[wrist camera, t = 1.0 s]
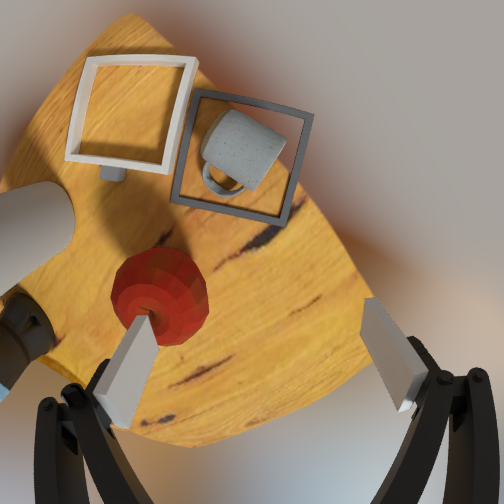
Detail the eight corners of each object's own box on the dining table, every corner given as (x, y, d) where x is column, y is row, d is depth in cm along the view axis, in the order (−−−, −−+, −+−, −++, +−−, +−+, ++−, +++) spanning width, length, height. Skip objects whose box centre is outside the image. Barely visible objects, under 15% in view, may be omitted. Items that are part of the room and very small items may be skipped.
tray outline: (171, 202, 36) (170, 202, 36) (195, 88, 31) (194, 88, 30) (284, 226, 37) (285, 227, 37) (313, 114, 32) (314, 114, 32)
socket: (72, 172, 34) (63, 174, 31) (95, 61, 28) (87, 57, 25) (170, 187, 35) (164, 190, 33) (199, 62, 29) (195, 56, 27)
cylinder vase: (77, 258, 39) (-22, 345, 15) (29, 244, 37) (-64, 308, 14) (79, 183, 34) (-52, 233, 11) (28, 177, 33) (-83, 216, 10)
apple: (232, 274, 40) (225, 332, 27) (180, 318, 43) (158, 380, 29) (171, 213, 37) (133, 247, 23) (123, 266, 39) (79, 314, 26)
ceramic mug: (230, 109, 32) (224, 99, 25) (284, 140, 33) (293, 137, 26) (190, 177, 35) (175, 185, 28) (243, 206, 37) (241, 221, 29)
